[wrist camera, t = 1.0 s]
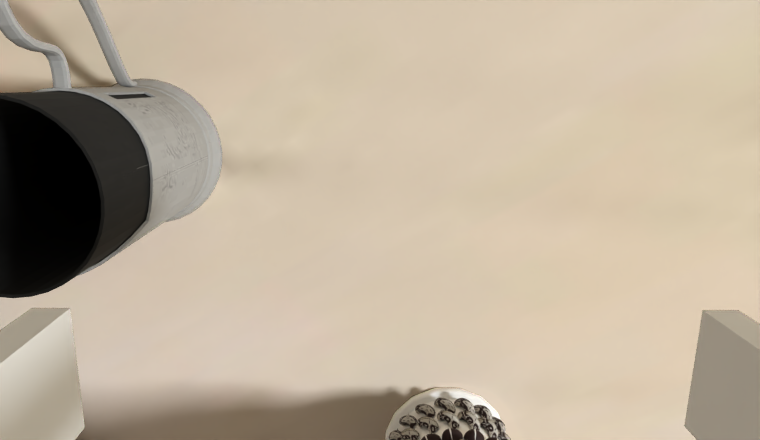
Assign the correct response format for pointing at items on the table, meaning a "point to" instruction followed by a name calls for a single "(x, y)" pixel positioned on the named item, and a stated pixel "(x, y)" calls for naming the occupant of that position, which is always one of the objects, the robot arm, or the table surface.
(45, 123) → the glass holder
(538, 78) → the table surface
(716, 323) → the robot arm
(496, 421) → the decorative candle
